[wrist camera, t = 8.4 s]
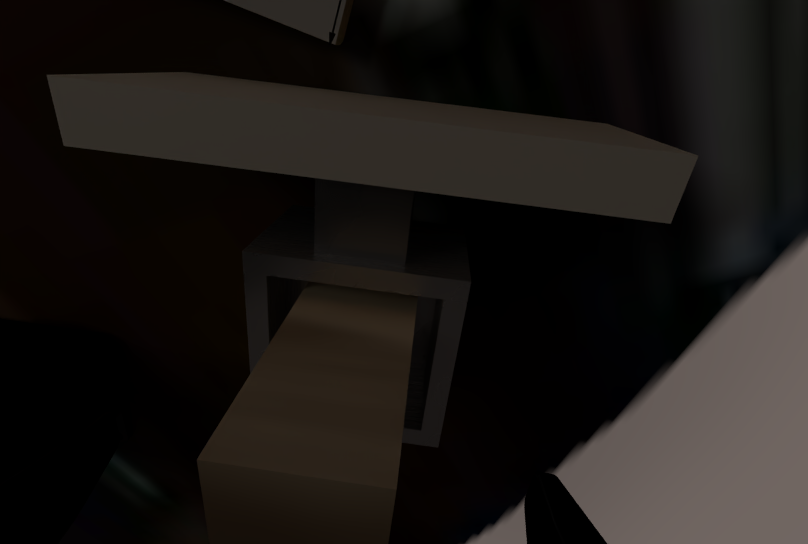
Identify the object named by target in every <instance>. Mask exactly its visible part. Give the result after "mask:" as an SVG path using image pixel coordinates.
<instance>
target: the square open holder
mask: <svg viewBox="0 0 808 544" xmlns="http://www.w3.org/2000/svg"><path fill="white" fill-rule="evenodd" d="M415 192H416V191H412V190H404V189H397V188H389V187H381V186H373V185H365V184H358V183H350V182H342V181H334V180H327V179H319V178H315V208H314V207H306V206H298V205H292V206H291V207H290V208H289V209H288V210H287V211H285V212H284V213H283V214H282V215H281V216H280V217H279V218H278V219H277V220H276V221H275V222H273V223H272V224H271V225H270V226H269V227H268V228H267V229H266V230H265V231H264V232H263V233H261V234H260V235H259V236H258V237H257V238H256V239H255V240H254V241H253V242H252V243H251V244H249V245H248V246H247V247H246V248H245V249H244V250H243V251H242V257H243V272H244V287H245V301H246V316H247V331H248V346H249V361H250V374H251V372H252V371H253V369H254V368H255V366H256V364H257V363H258V361H259V360H260V358H261V356H262V355H263V353H264V352H265V350H266V348H267V347H268V345H269V344H270V342H271V340H272V339H273V337H274V336H275V334H276V333H277V331H278V329H279V328H280V326H281V325H282V323H283V321H284V320H285V318H286V317H287V315H288V313H289V312H290V310H291V309H292V307H293V305H294V304H295V302H296V301H297V299H298V297H299V296H300V294H301V293H302V291H303V289H304V288H305V286H306V285H307V283H308V282H309V281H310V282H318V283H325V284H332V285H340V286H347V287H355V288H362V289H369V290H377V291H384V292H391V293H399V294H406V295H414V296H418V300H417V309H416V318H415V327H414V336H413V345H412V354H411V363H410V372H409V381H408V390H407V399H406V408H405V417H404V426H403V435H402V442H403V443H410V444H417V445H424V446H431V447H438V445H439V440H440V435H441V430H442V425H443V420H444V415H445V410H446V405H447V400H448V395H449V390H450V386H451V381H452V376H453V371H454V366H455V361H456V356H457V351H458V346H459V341H460V336H461V331H462V326H463V321H464V316H465V311H466V306H467V301H468V296H469V291H470V286H471V276H470V268H469V260H468V252H467V245H466V237H465V229H464V227H459V226H451V225H444V224H436V223H428V222H421V221H413V220H412V216H413V208H414V200H415Z"/></svg>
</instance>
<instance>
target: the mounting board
mask: <svg viewBox="0 0 808 544" xmlns="http://www.w3.org/2000/svg"><path fill="white" fill-rule="evenodd" d="M47 78H48V82H49V86H50V91H51V95H52V99H53V103H54V107H55V111H56V115H57V120H58V124H59V128H60V132H61V136H62V140H63V144H64V146H70V147H78V148H86V149H93V150H101V151H109V152H117V153H125V154H132V155H140V156H148V157H156V158H163V159H171V160H179V161H187V162H195V163H202V164H210V165H218V166H226V167H233V168H241V169H249V170H257V171H264V172H272V173H280V174H288V175H296V176H303V177H311V178H319V179H327V180H334V181H342V182H350V183H358V184H365V185H373V186H381V187H389V188H397V189H404V190H412V191H420V192H428V193H435V194H443V195H451V196H459V197H467V198H474V199H482V200H490V201H498V202H505V203H513V204H521V205H529V206H536V207H544V208H552V209H560V210H568V211H575V212H583V213H591V214H599V215H606V216H614V217H622V218H630V219H637V220H645V221H653V222H661V223H669V224H671V222H672V219H673V217H674V214H675V212H676V209H677V207H678V204H679V202H680V200H681V197H682V195H683V192H684V190H685V187H686V185H687V182H688V180H689V178H690V175H691V173H692V170H693V168H694V165H695V163H696V160H697V158H698V156H697V155H695V154H692V153H689V152H686V151H683V150H680V149H677V148H675V147H672V146H669V145H666V144H663V143H660V142H657V141H655V140H652V139H649V138H646V137H643V136H640V135H638V134H635V133H632V132H629V131H626V130H623V129H620V128H618V127H615V126H612V125H609V124H605V123H597V122H588V121H580V120H572V119H564V118H556V117H548V116H539V115H531V114H523V113H515V112H507V111H499V110H491V109H482V108H474V107H466V106H458V105H450V104H442V103H433V102H425V101H417V100H409V99H401V98H393V97H385V96H376V95H368V94H360V93H352V92H344V91H336V90H327V89H319V88H311V87H303V86H295V85H287V84H279V83H270V82H262V81H254V80H246V79H238V78H230V77H222V76H213V75H205V74H197V73H189V72H164V73H117V74H71V75H47Z"/></svg>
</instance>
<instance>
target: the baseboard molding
mask: <svg viewBox="0 0 808 544" xmlns="http://www.w3.org/2000/svg"><path fill="white" fill-rule="evenodd" d="M224 1H227V2H229V3H232V4H234V5H237V6H239V7H242V8H244V9H247V10H249V11H252V12H254V13H257V14H259V15H262V16H264V17H267V18H269V19H272V20H274V21H277V22H279V23H282V24H284V25H287V26H289V27H292V28H294V29H297V30H299V31H302V32H304V33H307V34H309V35H312V36H314V37H317V38H319V39H322V40H324V41H327V42H329V45H331V43H332V44H335V45H340V44H341V43H342V42H343V40H344V36H345V33H346V29H347V25H348V21H349V17H350V13H351V9H352V5H353V1H354V0H224Z"/></svg>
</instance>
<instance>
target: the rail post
mask: <svg viewBox="0 0 808 544" xmlns="http://www.w3.org/2000/svg"><path fill="white" fill-rule="evenodd" d="M417 300H418V296H414V295H406V294H399V293H391V292H384V291H377V290H369V289H362V288H355V287H347V286H340V285H332V284H325V283H318V282H310V281H309V282H308V283H307V285H306V286H305V288H304V289H303V291H302V293H301V294H300V296H299V297H298V299H297V301H296V302H295V304H294V305H293V307H292V309H291V310H290V312H289V313H288V315H287V317H286V318H285V320H284V321H283V323H282V325H281V326H280V328H279V329H278V331H277V333H276V334H275V336H274V337H273V339H272V340H271V342H270V344H269V345H268V347H267V348H266V350H265V352H264V353H263V355H262V356H261V358H260V360H259V361H258V363H257V364H256V366H255V368H254V369H253V371H252V372H251V374H250V376H249V377H248V379H247V380H246V382H245V383H244V385H243V387H242V388H241V390H240V391H239V393H238V395H237V396H236V398H235V399H234V401H233V403H232V404H231V406H230V407H229V409H228V411H227V412H226V414H225V415H224V417H223V419H222V420H221V422H220V423H219V425H218V426H217V428H216V430H215V431H214V433H213V434H212V436H211V438H210V439H209V441H208V442H207V444H206V446H205V447H204V449H203V450H202V452H201V454H200V455H199V457H198V458H197V465H198V471H199V478H200V484H201V491H202V498H203V504H204V511H205V517H206V524H207V530H208V537H209V543H210V544H388V542H389V535H390V529H391V522H392V516H393V509H394V503H395V496H396V489H397V480H398V471H399V462H400V453H401V444H402V435H403V426H404V417H405V408H406V399H407V390H408V381H409V372H410V363H411V354H412V345H413V336H414V327H415V318H416V309H417Z"/></svg>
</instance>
